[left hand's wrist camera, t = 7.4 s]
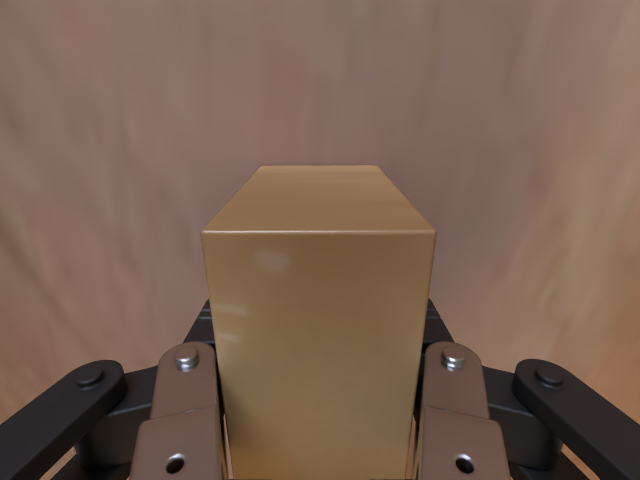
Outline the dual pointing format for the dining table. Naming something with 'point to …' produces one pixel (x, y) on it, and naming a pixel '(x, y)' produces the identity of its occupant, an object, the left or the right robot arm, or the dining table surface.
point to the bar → (318, 321)
